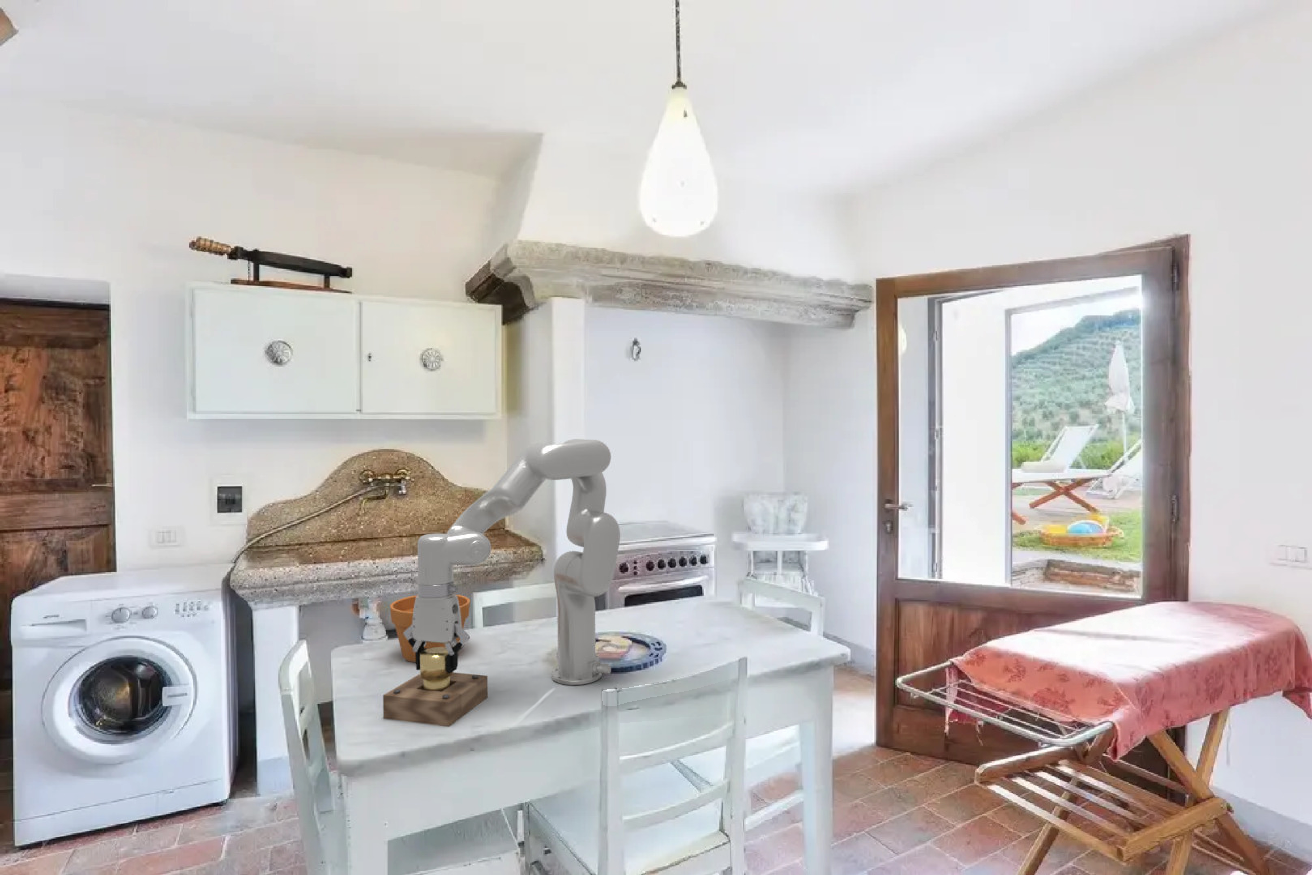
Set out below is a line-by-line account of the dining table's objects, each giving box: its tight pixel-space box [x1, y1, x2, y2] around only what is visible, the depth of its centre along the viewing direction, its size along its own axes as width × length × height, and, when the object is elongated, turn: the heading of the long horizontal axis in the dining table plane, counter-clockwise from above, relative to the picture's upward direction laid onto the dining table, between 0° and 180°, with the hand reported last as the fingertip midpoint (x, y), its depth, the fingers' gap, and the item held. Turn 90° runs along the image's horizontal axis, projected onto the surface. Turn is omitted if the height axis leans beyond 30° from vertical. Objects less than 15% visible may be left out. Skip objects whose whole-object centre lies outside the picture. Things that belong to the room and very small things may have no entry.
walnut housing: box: [382, 671, 489, 727], centre depth 154 cm, size 16×16×6 cm
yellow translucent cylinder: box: [419, 647, 454, 692], centre depth 154 cm, size 7×7×10 cm
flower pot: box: [389, 593, 471, 663], centre depth 193 cm, size 21×21×15 cm
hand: (436, 669), depth 154 cm, fingers closed on yellow translucent cylinder, 7 cm apart
